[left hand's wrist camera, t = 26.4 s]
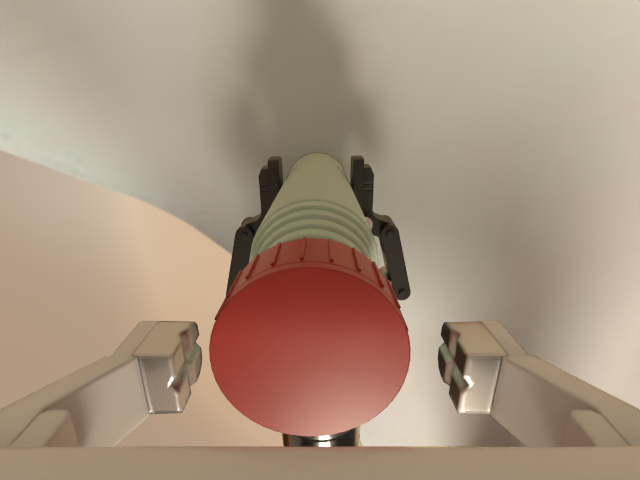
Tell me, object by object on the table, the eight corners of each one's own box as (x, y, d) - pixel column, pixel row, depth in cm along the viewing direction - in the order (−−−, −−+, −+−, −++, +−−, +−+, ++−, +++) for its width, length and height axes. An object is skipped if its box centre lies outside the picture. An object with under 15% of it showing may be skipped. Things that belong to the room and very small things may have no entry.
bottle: (322, 140, 30) (327, 203, 8) (356, 186, 31) (447, 352, 9) (277, 177, 31) (170, 325, 9) (313, 219, 32) (297, 445, 10)
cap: (328, 199, 9) (331, 221, 7) (427, 330, 10) (451, 377, 8) (192, 299, 10) (163, 341, 8) (298, 408, 11) (293, 466, 9)
